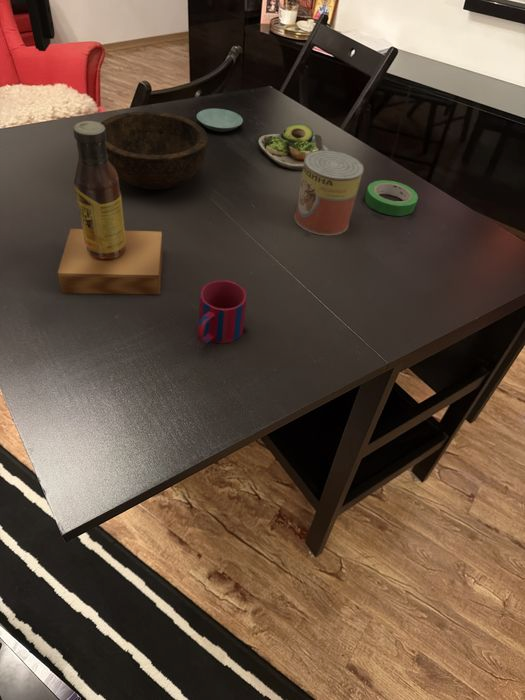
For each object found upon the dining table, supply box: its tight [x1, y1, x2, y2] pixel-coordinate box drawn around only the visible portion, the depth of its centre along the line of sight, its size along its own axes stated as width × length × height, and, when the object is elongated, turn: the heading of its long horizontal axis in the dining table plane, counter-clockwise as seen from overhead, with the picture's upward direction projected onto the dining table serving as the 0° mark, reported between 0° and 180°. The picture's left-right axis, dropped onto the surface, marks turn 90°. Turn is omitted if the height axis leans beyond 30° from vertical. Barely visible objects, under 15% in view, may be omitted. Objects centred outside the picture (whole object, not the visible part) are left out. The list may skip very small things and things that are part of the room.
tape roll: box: [364, 179, 419, 217], centre depth 105 cm, size 11×11×3 cm
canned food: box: [294, 149, 365, 237], centre depth 94 cm, size 11×11×12 cm
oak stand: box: [57, 228, 164, 295], centre depth 79 cm, size 15×12×4 cm
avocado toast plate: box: [257, 123, 329, 171], centre depth 115 cm, size 19×18×5 cm
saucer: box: [196, 108, 244, 133], centre depth 123 cm, size 12×12×2 cm
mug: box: [196, 279, 248, 344], centre depth 70 cm, size 7×10×7 cm
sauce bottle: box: [72, 120, 126, 259], centre depth 70 cm, size 7×6×20 cm
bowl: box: [100, 110, 209, 190], centre depth 98 cm, size 22×22×10 cm
